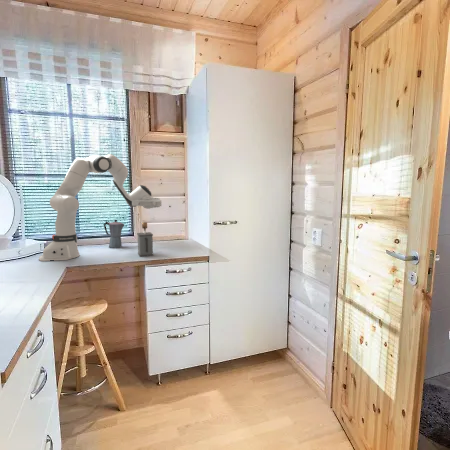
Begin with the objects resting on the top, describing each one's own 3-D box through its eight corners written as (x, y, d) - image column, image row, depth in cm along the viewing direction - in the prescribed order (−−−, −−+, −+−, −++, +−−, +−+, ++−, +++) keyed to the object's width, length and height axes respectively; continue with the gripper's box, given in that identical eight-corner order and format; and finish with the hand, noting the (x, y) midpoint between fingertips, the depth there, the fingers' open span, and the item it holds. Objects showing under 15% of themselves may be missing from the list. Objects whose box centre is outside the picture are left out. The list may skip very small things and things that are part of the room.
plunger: (141, 253, 198) (140, 223, 195) (140, 251, 204) (139, 222, 201) (150, 252, 201) (150, 223, 198) (149, 251, 206) (148, 221, 203)
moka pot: (123, 248, 219) (122, 220, 216) (101, 248, 220) (100, 220, 217) (127, 245, 229) (126, 218, 226) (106, 245, 229) (105, 218, 226)
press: (140, 257, 195) (139, 235, 193) (137, 253, 204) (137, 233, 202) (154, 256, 198) (153, 234, 196) (150, 252, 208) (150, 232, 206)
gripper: (133, 198, 224) (130, 199, 210) (162, 198, 227) (160, 199, 213) (133, 206, 224) (130, 208, 211) (162, 207, 227) (160, 208, 214)
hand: (145, 204), depth 212 cm, fingers open, 8 cm apart
